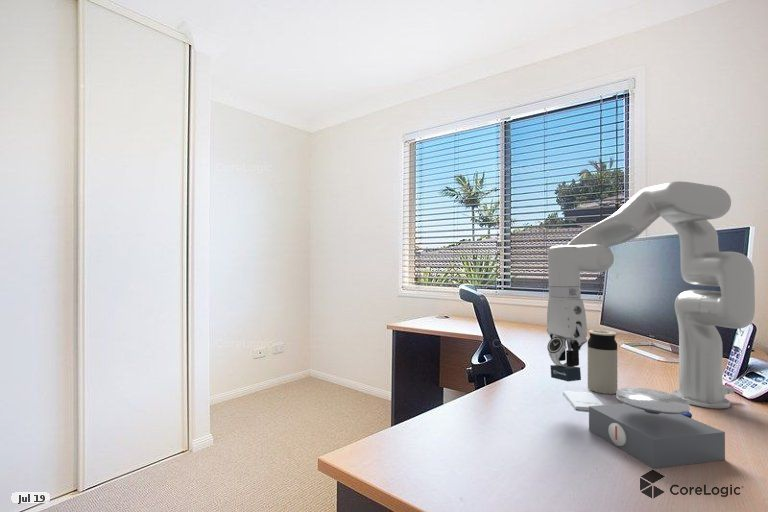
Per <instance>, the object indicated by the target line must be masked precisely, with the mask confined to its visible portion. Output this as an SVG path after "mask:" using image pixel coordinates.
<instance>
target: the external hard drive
mask: <svg viewBox="0 0 768 512" xmlns="http://www.w3.org/2000/svg"><path fill="white" fill-rule="evenodd" d="M562 395H563V396H564V398H565V397H566V398H567V399H566V398H565V399H566V400H567V401H568V403H569V402H570V403H571V404H570V403H569V404H570V405H571V406H572V407H573V409H574V408H575V409H579V410H578V411H585V410H589V406H599V405H604V403H603V402H602V401H601V400H600V399H599V398H597V396H595V395H594V394H593V393H592V392H589V391H588V392H587V391H585V392H584V391H573V390H563V391H562ZM575 409H574V410H575Z"/></svg>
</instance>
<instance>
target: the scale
mask: <svg viewBox="0 0 768 512" xmlns="http://www.w3.org/2000/svg"><path fill="white" fill-rule="evenodd" d="M588 431H590V432H592V433H593V432H594V433H593V434H595V435H597V436H598V435H599V437H601V438H602V439H603V440H606V441H607V442H609V443H611V445H614V446H615V447H617V448H619V449H621V450H622V451H624V452H625V453H628V454H629V455H630V456H632V457H634V458H635V459H638V461H641V463H642V462H643V463H644V464H646V465H647V466H648V467H651V468H652V469H661V468H670V467H677V466H678V467H679V466H685V465H686V466H687V465H693V464H694V465H695V464H703V463H710V462H718V461H725V460H726V431H723V430H721V429H719V428H716V427H713V426H711V425H709V424H706V423H703V422H700V421H698V420H696V419H693V418H692V417H691V418H689V417H687V416H684V415H682V414H665V413H660V414H651V413H647V412H645V411H643V410H642V409H638V408H635V407H632V406H629V405H627V404H625V403H615V404H614V403H613V404H603V405H599V406H589V411H588Z"/></svg>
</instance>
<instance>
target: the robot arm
mask: <svg viewBox="0 0 768 512" xmlns="http://www.w3.org/2000/svg"><path fill="white" fill-rule="evenodd" d="M731 205H732V199H731V195H730V194H729V193H728V192H727V191H726V190H725V189H723V188H722V187H719V186H716V185H710V184H704V183H703V184H702V183H696V182H690V181H681V180H680V181H670V182H665V183H661V184H656V185H651V186H648V187H644V188H643V189H640V190H639V191H638V192H637V193H635V194H634V195H633V196H631V198H630V199H629V200H627V201H626V203H624V204H623V205H622V206H621V207H620V208H619V209H618V210H617V211H615V212H614V213H613V214H611V215H610V216H608V217H606V218H604V219H603V220H601V221H599V222H597V223H596V224H594V225H592V226H591V227H588V228H586V229H585V230H584V231H582V232H580V233H579V234H578V235H576V236H575V237H573V238H572V239H571V240H570V241H569V242H568V243H567V244H566V245H554V246H551V247H549V248H548V250H547V270H548V271H547V272H548V273H547V275H548V277H547V278H548V301H547V312H546V313H547V314H546V319H547V320H546V321H547V322H546V324H547V325H546V326H547V328H546V333H547V335H549V338H550V340H551V339H552V338H554V337H556V336H561V337H564V338H566V347H567V349H565V350H564V352H563V353H562V354H561V356H560V358H558V359H559V361H560V362H562V361H563V362H564V361H565V362H567V366H569V367H570V366H575V367H579V365H580V353H579V351H581V349H582V347H583V345H585V344H586V343H588V338H587V336H588V328H587V327H588V324H587V315H586V308H585V304H584V301H583V299H582V298H581V273H586V274H587V273H588V274H600V273H604V272H606V271H608V270H609V269H610V268H611V267H612V266H613V264H614V261H615V257H614V256H615V255H614V253H613V251H612V250H611V247H613V246H617V245H621V244H625V243H628V242H629V241H632V240H635V239H636V238H638V237H639V236H640V235H641V234H643V232H644V231H645V230H646V229H648V228H649V227H650V226H651V225H652V224H653V223H654V222H655V221H657V220H658V219H659V218H660V217H661V218H662V219H663V220H665V222H667V223H668V224H669V225H671V226H672V227H673V228H674V230H675V231H676V233H677V235H678V237H679V247H680V248H679V249H680V252H679V253H680V254H679V256H680V274H681V278H682V280H683V281H684V282H685V283H687V284H689V285H690V284H691V285H695V286H704V287H705V286H706V287H720V291H716V290H705V289H689V290H684V291H682V292H680V293H679V294H678V295H677V296H676V297H675V301H674V311H675V316H676V320H677V325H678V326H677V327H678V341H679V343H678V345H679V346H678V359H679V360H678V366H679V367H678V374H679V375H678V376H679V378H678V379H679V381H678V383H679V386H678V387H679V389H676V390H673V391H672V394H673V395H676V396H678V397H681V398H683V399H685V400H686V401H688V402H689V404H690V405H693V406H697V407H701V408H707V409H720V410H721V409H727V408H730V407H731V401H730V400H729V399H728V398H726V397H725V395H731V394H732V395H733V394H734V393H735V389H734V388H733V387H731V386H724V385H723V381H724V380H723V340H722V337H721V334H720V333H719V330H718V329H717V327H721V328H722V327H723V328H726V329H727V328H729V329H734V330H735V329H737V330H738V329H745V328H747V327H748V326H750V324H752V322H753V320H754V317H755V311H756V310H755V309H756V305H755V304H756V302H755V301H756V299H755V298H756V297H755V294H756V293H755V292H756V291H755V289H756V288H755V284H756V283H755V270H754V266H753V263H752V262H751V260H750V258H749V257H748V256H746V255H745V254H744V253H741V252H739V251H738V252H736V251H720V248H719V235H718V232H717V230H716V228H715V227H714V225H712V223H711V222H710V221H708V220H716V219H720V218H722V217H724V216H725V215H727V213H728V212H729V211H730V209H731ZM572 340H574V343H573V344H572Z"/></svg>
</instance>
